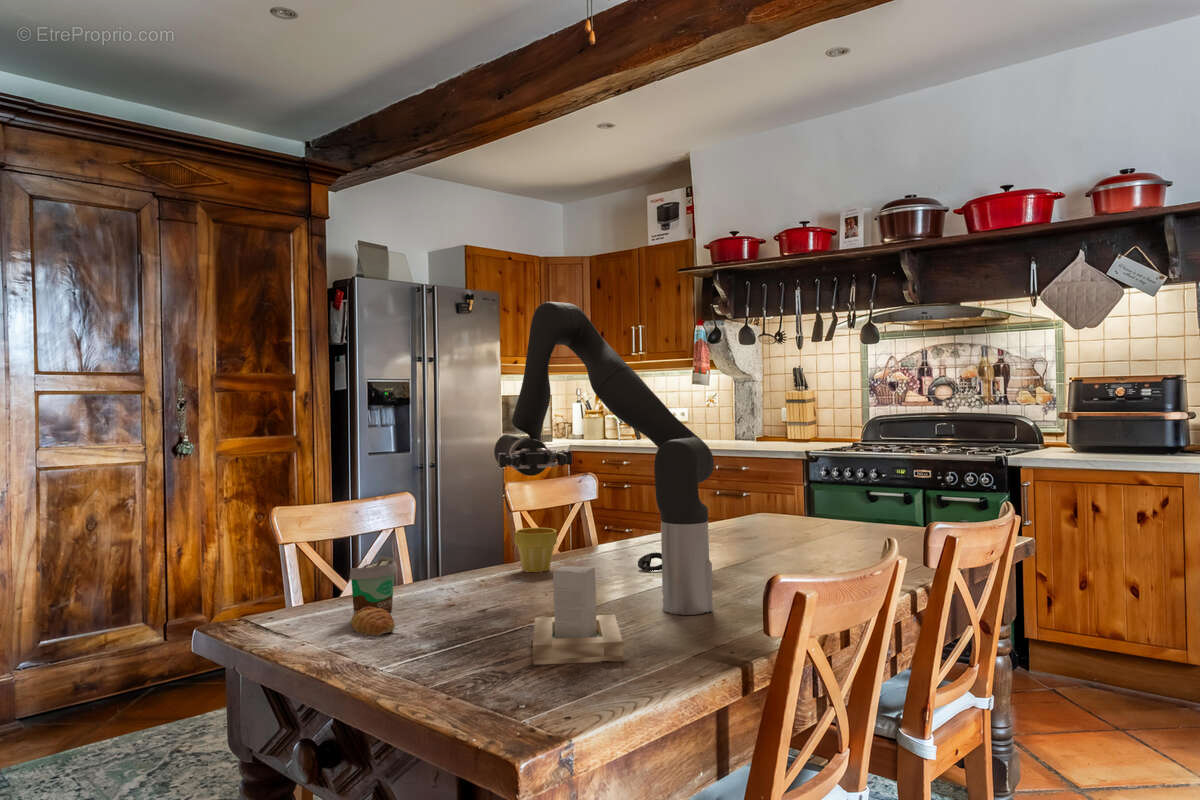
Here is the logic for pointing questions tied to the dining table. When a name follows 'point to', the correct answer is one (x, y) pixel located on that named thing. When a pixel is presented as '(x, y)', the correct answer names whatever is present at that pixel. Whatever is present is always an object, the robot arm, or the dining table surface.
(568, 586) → the skincare box
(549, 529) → the plant pot
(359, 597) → the food container
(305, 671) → the dining table surface
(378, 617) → the pastry
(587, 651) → the holder
